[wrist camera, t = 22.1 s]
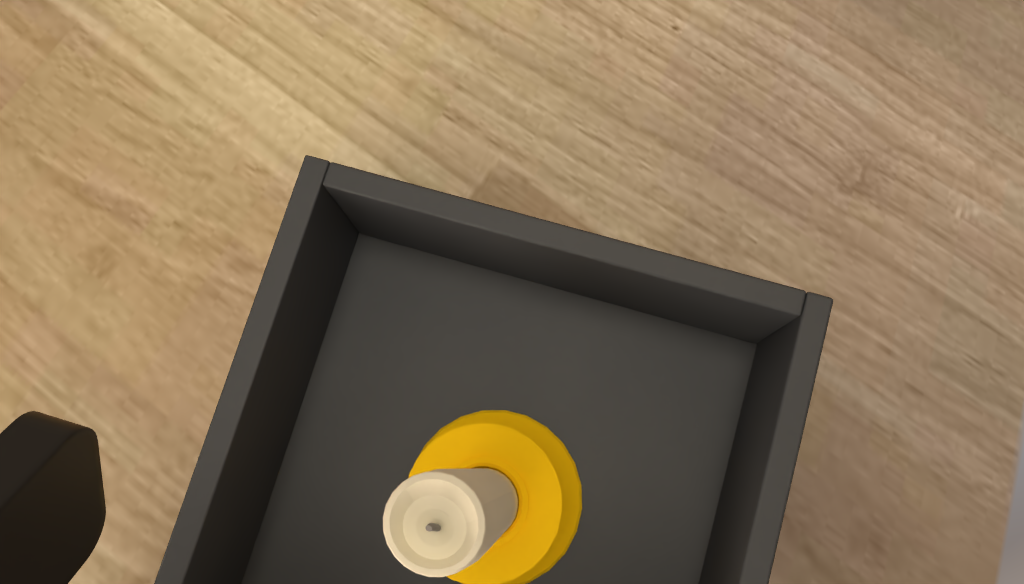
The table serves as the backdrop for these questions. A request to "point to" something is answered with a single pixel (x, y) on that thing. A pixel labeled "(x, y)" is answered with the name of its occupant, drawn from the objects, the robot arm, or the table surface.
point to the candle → (486, 502)
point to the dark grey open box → (496, 390)
